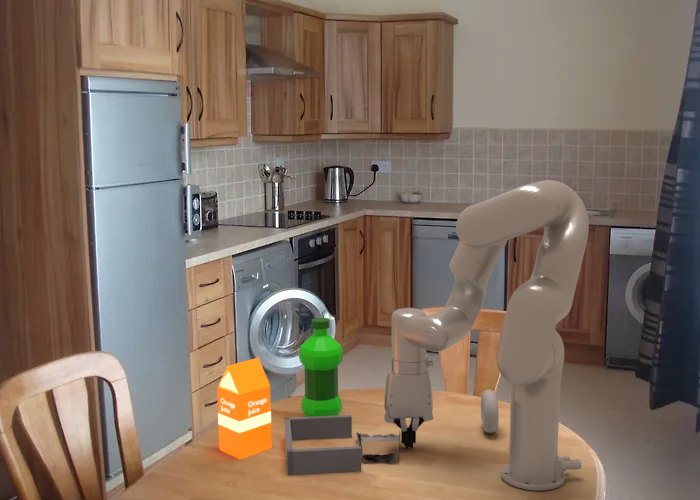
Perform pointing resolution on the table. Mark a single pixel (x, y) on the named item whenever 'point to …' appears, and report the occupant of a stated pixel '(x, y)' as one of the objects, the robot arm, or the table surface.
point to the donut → (489, 411)
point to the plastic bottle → (321, 371)
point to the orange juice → (244, 410)
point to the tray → (320, 457)
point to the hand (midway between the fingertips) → (408, 446)
